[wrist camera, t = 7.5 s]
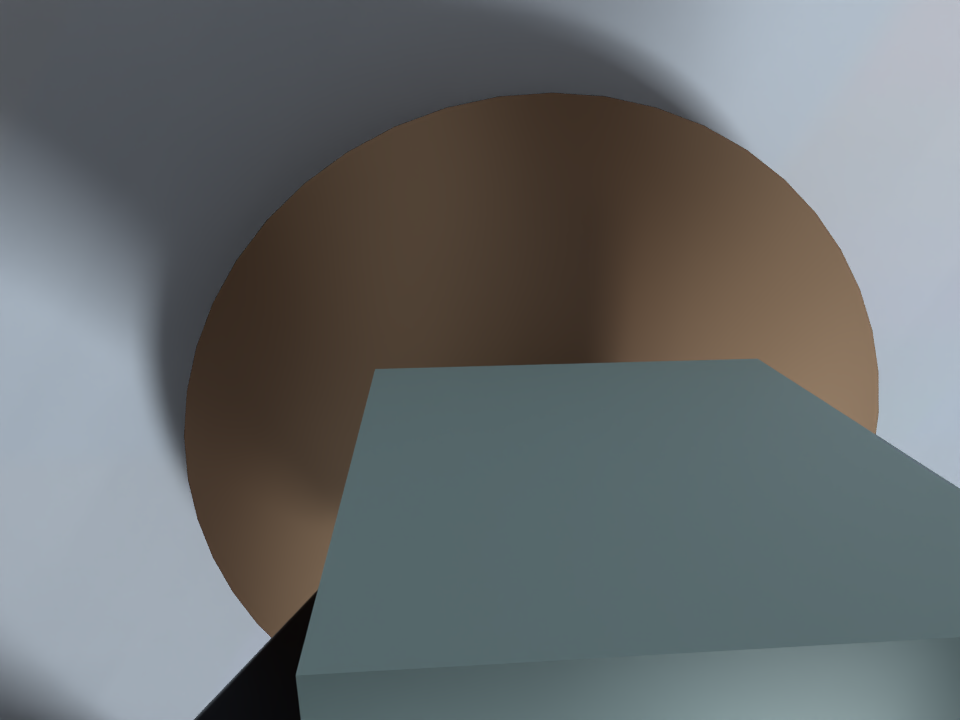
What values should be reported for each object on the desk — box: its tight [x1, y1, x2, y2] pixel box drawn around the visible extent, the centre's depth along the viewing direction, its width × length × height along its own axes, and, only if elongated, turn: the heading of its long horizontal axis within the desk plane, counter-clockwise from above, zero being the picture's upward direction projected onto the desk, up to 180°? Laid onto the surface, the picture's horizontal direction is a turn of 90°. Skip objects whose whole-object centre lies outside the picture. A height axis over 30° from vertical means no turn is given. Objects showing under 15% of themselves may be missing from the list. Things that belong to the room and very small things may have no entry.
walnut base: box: [184, 93, 879, 638], centre depth 12 cm, size 12×12×2 cm
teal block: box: [296, 359, 960, 720], centre depth 7 cm, size 5×5×5 cm
